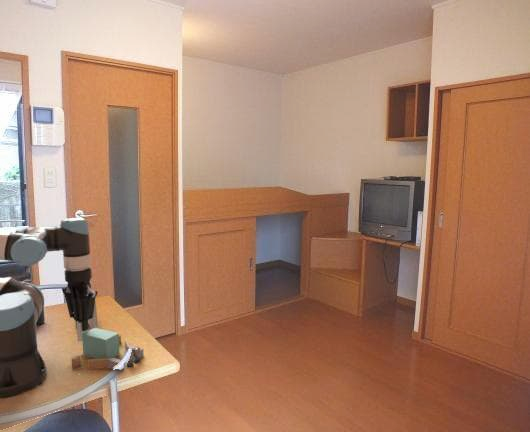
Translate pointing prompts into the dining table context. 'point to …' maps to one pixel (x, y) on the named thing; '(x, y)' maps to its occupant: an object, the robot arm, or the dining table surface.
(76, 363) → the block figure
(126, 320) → the dining table surface
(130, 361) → the bosses
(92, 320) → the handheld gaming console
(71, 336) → the dining table surface
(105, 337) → the pale green block
